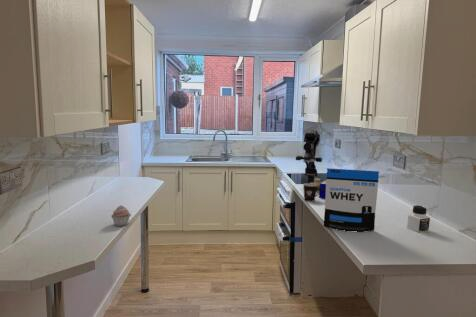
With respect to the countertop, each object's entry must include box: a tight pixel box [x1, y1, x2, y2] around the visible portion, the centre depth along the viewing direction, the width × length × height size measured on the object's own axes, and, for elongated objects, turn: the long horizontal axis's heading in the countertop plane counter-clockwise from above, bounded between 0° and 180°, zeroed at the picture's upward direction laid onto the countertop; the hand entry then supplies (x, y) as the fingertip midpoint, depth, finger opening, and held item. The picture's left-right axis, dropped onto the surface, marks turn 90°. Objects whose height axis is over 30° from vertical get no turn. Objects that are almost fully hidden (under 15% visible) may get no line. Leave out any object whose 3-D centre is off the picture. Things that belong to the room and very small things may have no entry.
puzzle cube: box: [318, 180, 326, 200], centre depth 232 cm, size 10×10×10 cm
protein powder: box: [323, 167, 380, 233], centre depth 171 cm, size 10×24×30 cm, turn 77°
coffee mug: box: [303, 182, 323, 202], centre depth 223 cm, size 12×9×10 cm
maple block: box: [314, 177, 322, 185], centre depth 256 cm, size 4×4×4 cm
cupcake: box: [110, 204, 132, 227], centre depth 172 cm, size 9×9×10 cm
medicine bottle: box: [406, 204, 431, 233], centre depth 173 cm, size 7×7×12 cm
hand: (308, 170), depth 258 cm, fingers closed
